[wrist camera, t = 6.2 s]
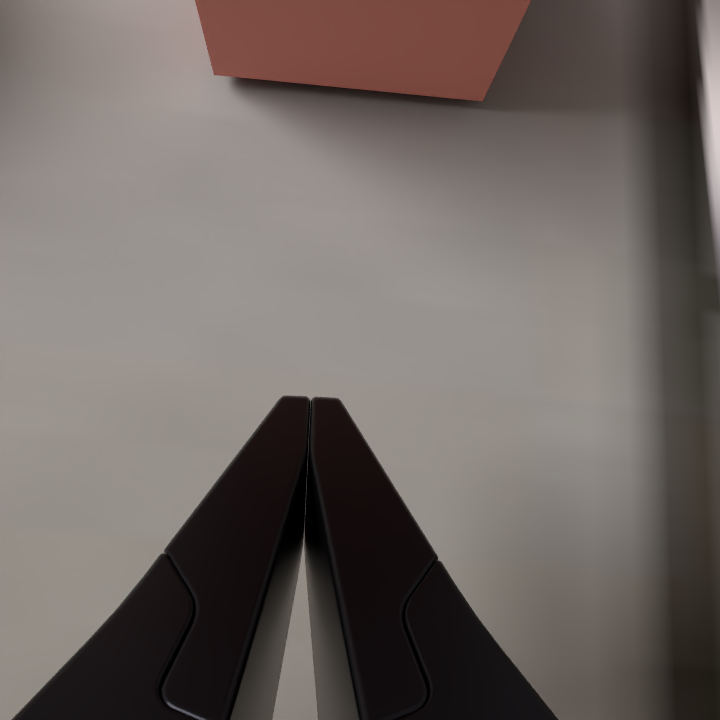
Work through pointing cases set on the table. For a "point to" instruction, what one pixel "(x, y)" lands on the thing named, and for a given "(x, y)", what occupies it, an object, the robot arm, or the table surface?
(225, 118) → the table surface
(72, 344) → the table surface
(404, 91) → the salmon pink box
